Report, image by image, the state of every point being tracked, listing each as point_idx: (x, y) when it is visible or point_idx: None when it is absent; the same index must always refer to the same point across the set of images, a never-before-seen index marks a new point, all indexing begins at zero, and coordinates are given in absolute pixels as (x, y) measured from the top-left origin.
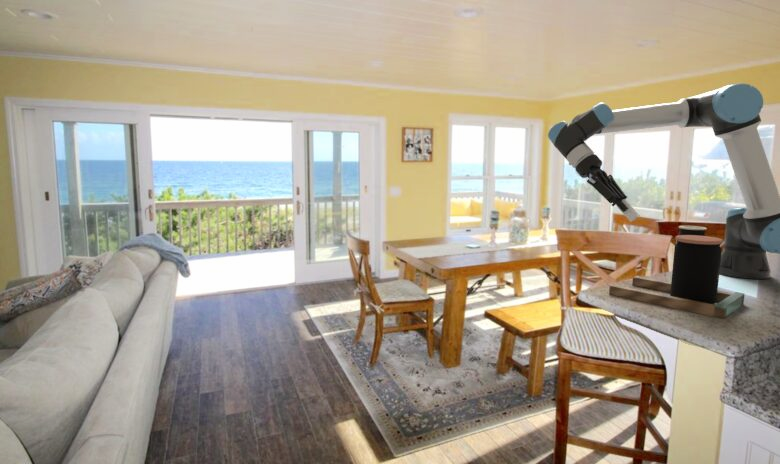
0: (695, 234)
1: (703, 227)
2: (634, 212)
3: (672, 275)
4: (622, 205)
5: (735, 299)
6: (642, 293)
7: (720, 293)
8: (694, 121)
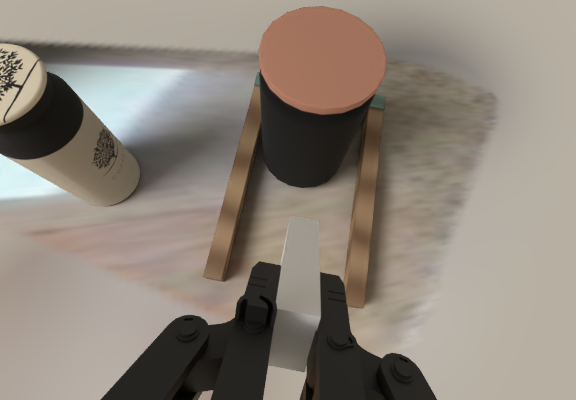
0: (53, 86)
1: None
2: (318, 234)
3: (325, 166)
4: (344, 307)
5: None
6: (370, 229)
7: None
8: None
